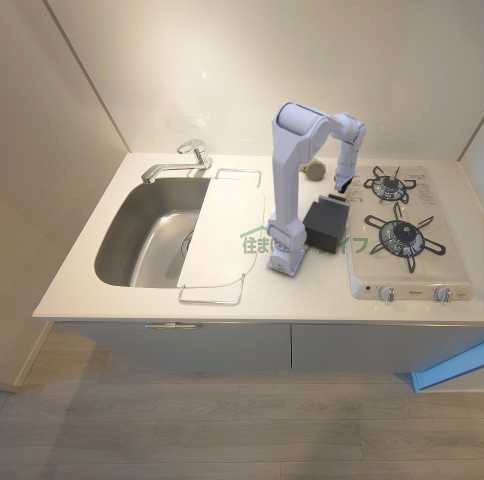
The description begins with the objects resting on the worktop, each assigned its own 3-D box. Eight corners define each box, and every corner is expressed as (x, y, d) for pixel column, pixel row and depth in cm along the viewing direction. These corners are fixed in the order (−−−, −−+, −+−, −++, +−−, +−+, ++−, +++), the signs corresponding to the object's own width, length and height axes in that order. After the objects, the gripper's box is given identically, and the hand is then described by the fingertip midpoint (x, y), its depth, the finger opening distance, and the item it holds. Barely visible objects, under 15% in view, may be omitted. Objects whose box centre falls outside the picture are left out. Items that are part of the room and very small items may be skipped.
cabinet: (312, 218, 90) (313, 201, 83) (345, 228, 87) (348, 211, 80) (300, 242, 84) (300, 225, 77) (335, 253, 82) (338, 237, 75)
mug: (320, 163, 107) (328, 151, 97) (318, 185, 105) (326, 176, 96) (302, 159, 105) (309, 147, 96) (300, 182, 104) (306, 173, 94)
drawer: (322, 201, 93) (323, 186, 88) (350, 209, 91) (354, 195, 85) (308, 228, 86) (308, 215, 81) (338, 238, 84) (341, 225, 78)
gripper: (353, 177, 74) (346, 210, 85) (366, 148, 82) (358, 181, 93) (329, 171, 76) (326, 203, 87) (344, 143, 83) (339, 176, 94)
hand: (341, 192), depth 90 cm, fingers closed
